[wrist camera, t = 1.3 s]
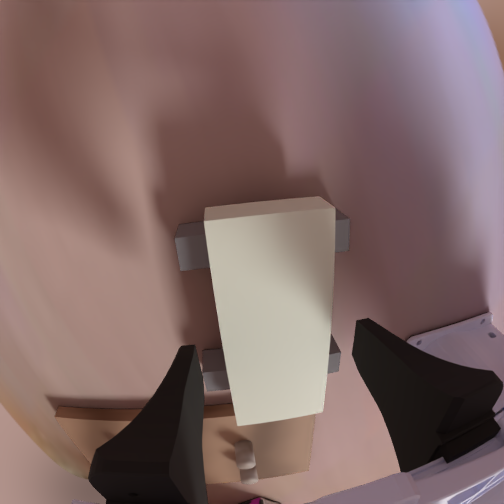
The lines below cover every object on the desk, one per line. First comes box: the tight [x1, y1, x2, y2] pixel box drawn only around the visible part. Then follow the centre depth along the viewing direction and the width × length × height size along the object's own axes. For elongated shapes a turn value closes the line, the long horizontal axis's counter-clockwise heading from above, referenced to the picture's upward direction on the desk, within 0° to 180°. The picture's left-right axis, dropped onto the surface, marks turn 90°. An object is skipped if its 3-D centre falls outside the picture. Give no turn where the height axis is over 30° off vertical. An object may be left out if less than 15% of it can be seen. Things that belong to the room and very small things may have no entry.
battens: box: [175, 208, 350, 391], centre depth 17 cm, size 8×10×2 cm
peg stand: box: [55, 403, 315, 484], centre depth 21 cm, size 20×11×3 cm, turn 94°
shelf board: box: [204, 196, 335, 426], centre depth 15 cm, size 12×5×2 cm, turn 4°
